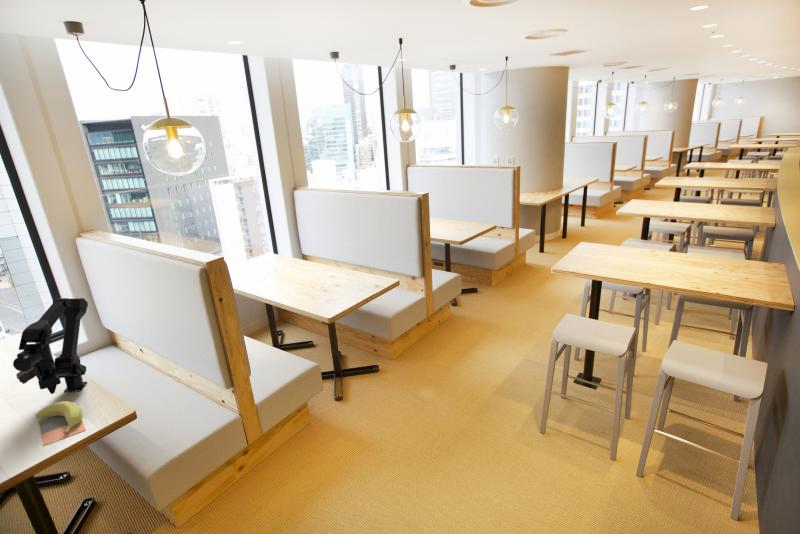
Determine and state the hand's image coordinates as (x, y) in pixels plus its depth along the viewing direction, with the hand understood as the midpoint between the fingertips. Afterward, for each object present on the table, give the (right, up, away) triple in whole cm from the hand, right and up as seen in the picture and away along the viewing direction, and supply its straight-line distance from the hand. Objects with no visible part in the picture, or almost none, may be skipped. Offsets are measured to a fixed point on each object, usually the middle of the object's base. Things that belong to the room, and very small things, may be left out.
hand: (52, 393), depth 169 cm
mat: (+9, -8, -7) cm, 14 cm away
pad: (+15, -10, -13) cm, 22 cm away
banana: (+10, -9, -8) cm, 16 cm away
